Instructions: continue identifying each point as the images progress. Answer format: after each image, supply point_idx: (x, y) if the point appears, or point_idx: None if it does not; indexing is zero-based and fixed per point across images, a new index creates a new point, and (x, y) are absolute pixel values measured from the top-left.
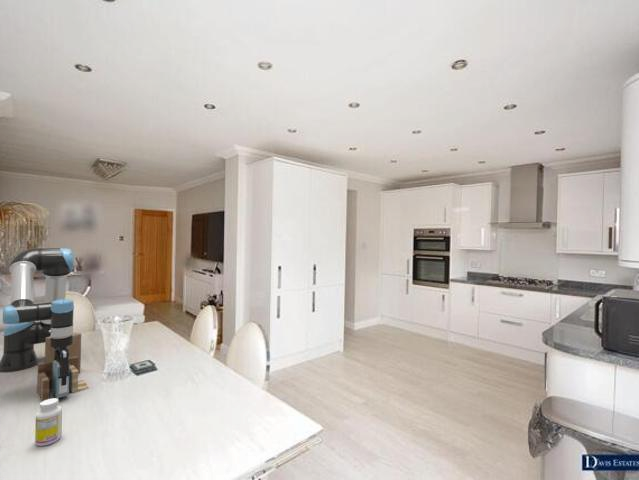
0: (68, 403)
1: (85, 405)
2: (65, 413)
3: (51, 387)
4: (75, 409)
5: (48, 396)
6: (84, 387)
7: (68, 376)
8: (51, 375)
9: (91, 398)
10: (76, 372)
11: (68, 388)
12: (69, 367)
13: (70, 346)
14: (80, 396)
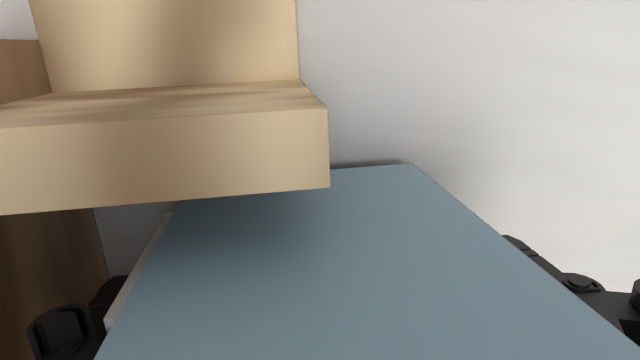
0: (497, 166)
1: (636, 76)
2: (637, 195)
3: (92, 259)
4: (637, 140)
5: None
6: (289, 17)
7: (509, 251)
8: (28, 343)
9: (552, 11)
10: (327, 128)
11: (436, 187)
12: (620, 333)
13: None
14: (435, 76)
